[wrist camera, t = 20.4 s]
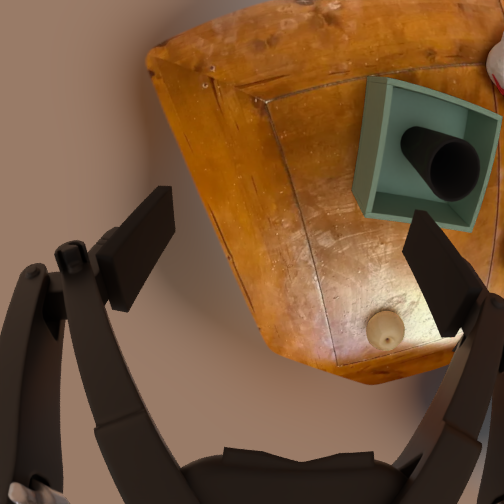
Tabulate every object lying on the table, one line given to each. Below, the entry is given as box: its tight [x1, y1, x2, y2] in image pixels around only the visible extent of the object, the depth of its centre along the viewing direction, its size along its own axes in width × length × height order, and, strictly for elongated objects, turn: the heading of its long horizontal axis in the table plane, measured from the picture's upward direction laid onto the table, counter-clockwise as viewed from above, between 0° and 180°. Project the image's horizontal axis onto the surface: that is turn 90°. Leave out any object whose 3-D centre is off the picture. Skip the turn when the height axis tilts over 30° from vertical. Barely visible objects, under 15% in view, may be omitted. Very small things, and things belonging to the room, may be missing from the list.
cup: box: [400, 126, 480, 202], centre depth 32 cm, size 8×8×12 cm
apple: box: [366, 311, 405, 351], centre depth 54 cm, size 8×8×8 cm
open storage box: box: [352, 76, 502, 233], centre depth 34 cm, size 18×18×9 cm
